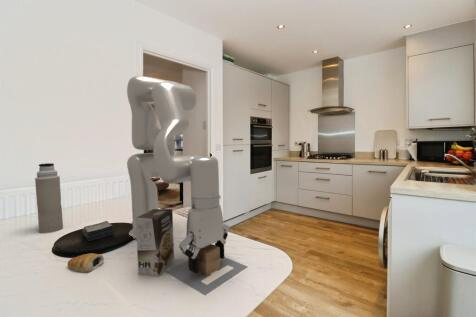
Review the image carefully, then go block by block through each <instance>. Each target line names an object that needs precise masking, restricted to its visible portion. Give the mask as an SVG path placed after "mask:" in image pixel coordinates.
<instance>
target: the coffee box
mask: <svg viewBox="0 0 476 317" xmlns="http://www.w3.org/2000/svg"><path fill="white" fill-rule="evenodd" d="M173 215H174V214H173V209H172V208H158V209H153V210H151V211H149V212H147V213H145V214H142V215H140V216H138V217H136V230H137V239H136V250H137V251H136V253H137V254H136V255H137V275H138V276H146V277H155V278H158V277H160V276H161V275H162V274H163V273H165V272H166V271H167V269H168V268H169V266H171V265H172V264H173V262H175V246H174V244H175V243H174V221H173V220H174V219H173V218H174V217H173Z"/></svg>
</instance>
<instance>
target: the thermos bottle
mask: <svg viewBox="0 0 476 317" xmlns="http://www.w3.org/2000/svg"><path fill="white" fill-rule="evenodd" d="M38 167H39V170H38V171H37V172H36V177H35V178H34V181H35V183H34V185H35V193H36V194H35V195H36V207H37V208H36V209H37V220H38V221H37V222H38V232H39V233H40V234H50V233H54V232H58V231H60V230H62V229H64V222H63V210H62V192H61V181H60V180H61V179H60V175H58V170H55V164H54V163H51V162H50V163H49V162H48V163H39V164H38Z"/></svg>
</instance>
